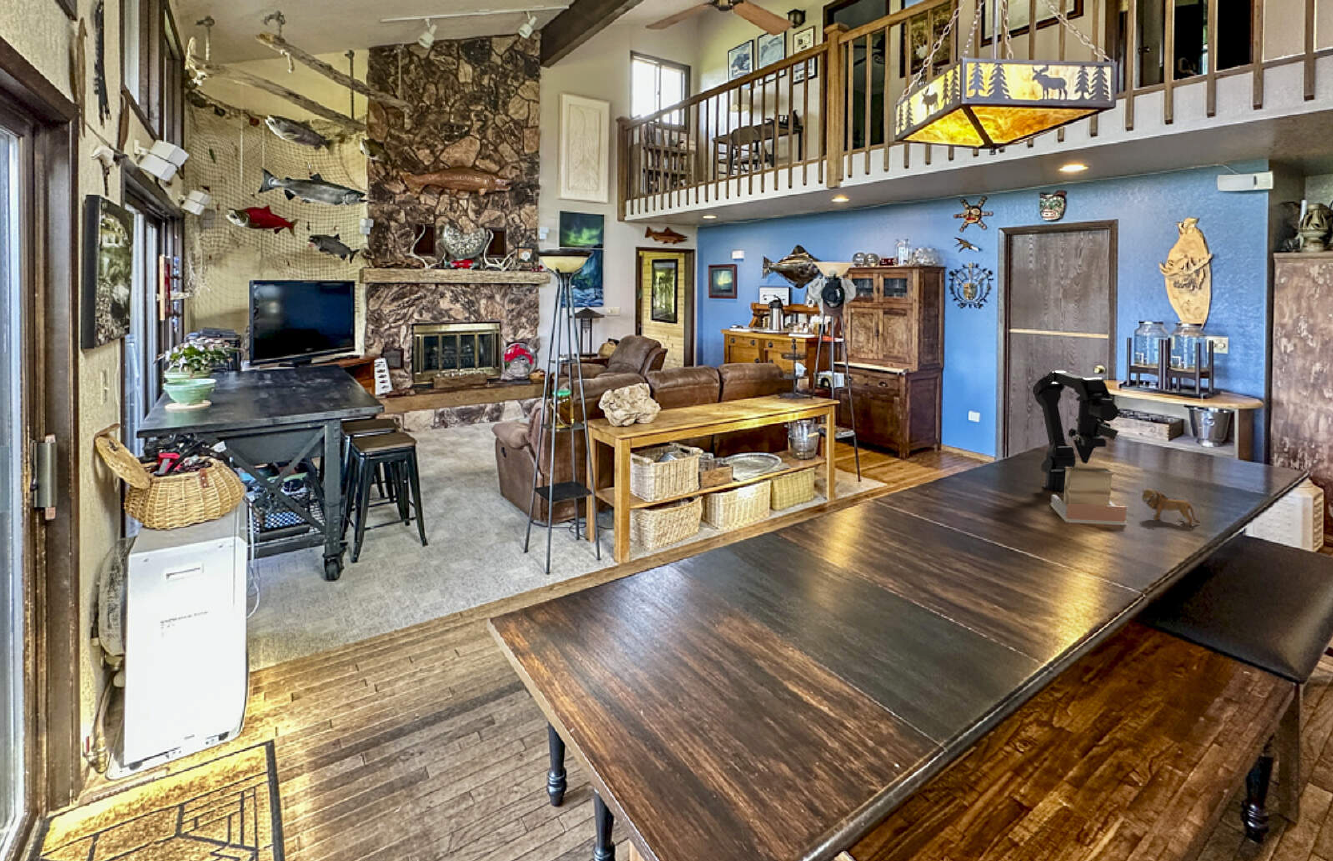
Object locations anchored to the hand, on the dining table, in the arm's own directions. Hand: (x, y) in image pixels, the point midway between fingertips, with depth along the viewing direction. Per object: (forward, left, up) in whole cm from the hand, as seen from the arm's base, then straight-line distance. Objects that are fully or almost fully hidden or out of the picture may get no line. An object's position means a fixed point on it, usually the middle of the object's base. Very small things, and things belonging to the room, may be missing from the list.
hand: (1084, 462), depth 228 cm
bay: (+13, -9, -13) cm, 21 cm away
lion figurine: (+24, +9, -13) cm, 29 cm away
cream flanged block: (+12, -9, -12) cm, 19 cm away
